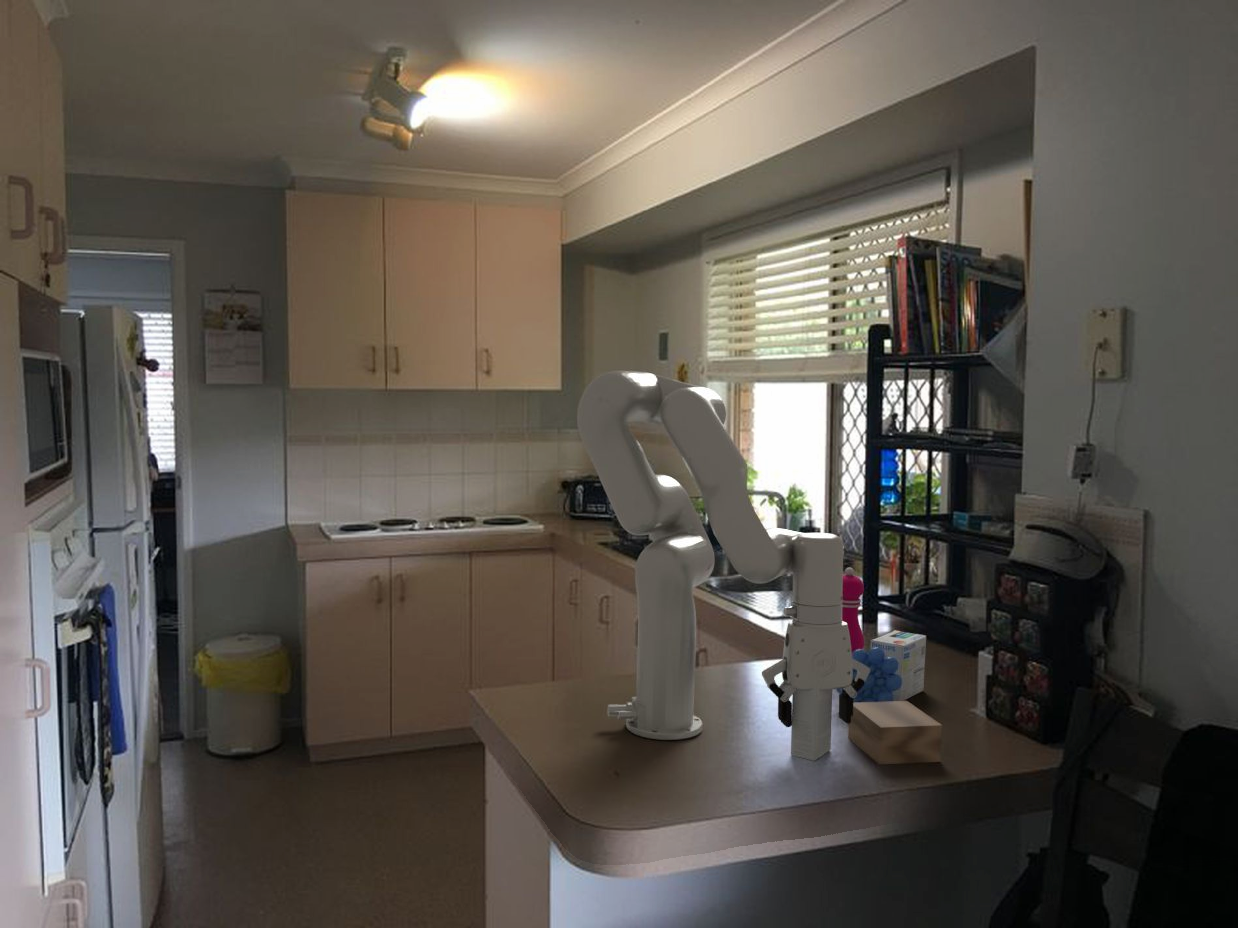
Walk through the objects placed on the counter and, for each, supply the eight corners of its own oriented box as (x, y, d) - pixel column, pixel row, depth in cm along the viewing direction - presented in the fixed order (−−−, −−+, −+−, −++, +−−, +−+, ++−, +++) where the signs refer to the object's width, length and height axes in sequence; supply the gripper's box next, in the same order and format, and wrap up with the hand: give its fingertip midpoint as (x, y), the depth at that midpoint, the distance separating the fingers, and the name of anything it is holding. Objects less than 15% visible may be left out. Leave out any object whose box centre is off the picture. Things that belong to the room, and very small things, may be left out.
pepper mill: (851, 657, 219) (855, 563, 218) (870, 666, 212) (874, 569, 211) (821, 659, 217) (825, 564, 215) (839, 668, 210) (843, 571, 208)
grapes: (907, 713, 182) (910, 646, 182) (896, 723, 177) (899, 654, 176) (843, 701, 188) (846, 636, 188) (830, 710, 183) (833, 643, 182)
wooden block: (878, 765, 158) (880, 727, 157) (847, 738, 169) (849, 702, 169) (940, 763, 159) (942, 725, 159) (905, 736, 171) (907, 700, 171)
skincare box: (806, 744, 165) (809, 670, 164) (831, 750, 163) (834, 675, 162) (789, 755, 160) (792, 679, 159) (814, 761, 158) (817, 684, 157)
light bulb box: (891, 683, 201) (894, 628, 200) (924, 691, 196) (927, 635, 195) (866, 695, 192) (869, 638, 191) (900, 703, 188) (903, 645, 187)
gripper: (771, 621, 154) (770, 733, 156) (880, 616, 158) (878, 726, 159) (755, 610, 162) (754, 718, 163) (859, 606, 165) (857, 712, 166)
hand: (815, 722), depth 161 cm, fingers open, 9 cm apart
